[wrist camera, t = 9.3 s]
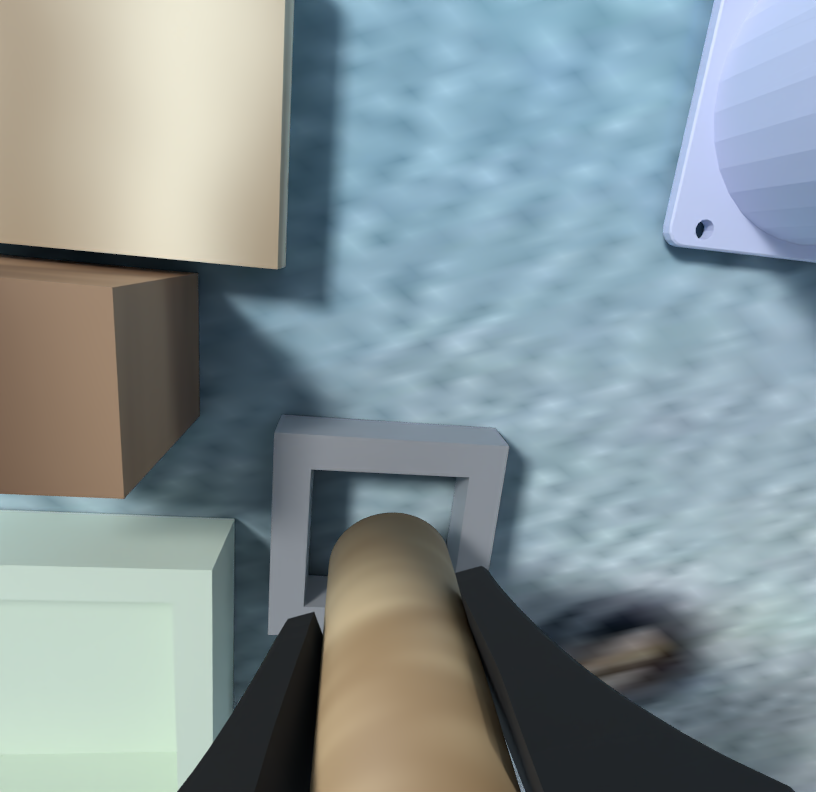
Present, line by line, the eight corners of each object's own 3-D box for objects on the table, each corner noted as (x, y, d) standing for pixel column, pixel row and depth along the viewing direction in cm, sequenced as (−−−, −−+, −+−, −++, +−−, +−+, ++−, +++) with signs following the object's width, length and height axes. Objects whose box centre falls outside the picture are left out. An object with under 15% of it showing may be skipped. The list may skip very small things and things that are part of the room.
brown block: (198, 272, 13) (112, 287, 9) (199, 415, 15) (124, 498, 10) (-8, 253, 13) (-224, 257, 8) (9, 404, 14) (-171, 486, 9)
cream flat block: (298, -33, 12) (287, -84, 10) (287, 266, 14) (277, 269, 12) (-173, -112, 11) (-284, -188, 9) (-114, 227, 13) (-195, 224, 11)
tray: (234, 518, 16) (211, 570, 13) (232, 756, 18) (213, 837, 16) (-173, 503, 14) (-285, 558, 12) (-113, 762, 17) (-194, 852, 14)
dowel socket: (495, 427, 16) (509, 446, 14) (467, 604, 17) (477, 637, 16) (282, 414, 15) (274, 432, 13) (275, 601, 16) (267, 634, 15)
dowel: (456, 515, 13) (559, 792, 7) (441, 618, 14) (519, 955, 7) (332, 510, 13) (306, 799, 6) (325, 616, 14) (295, 970, 7)
